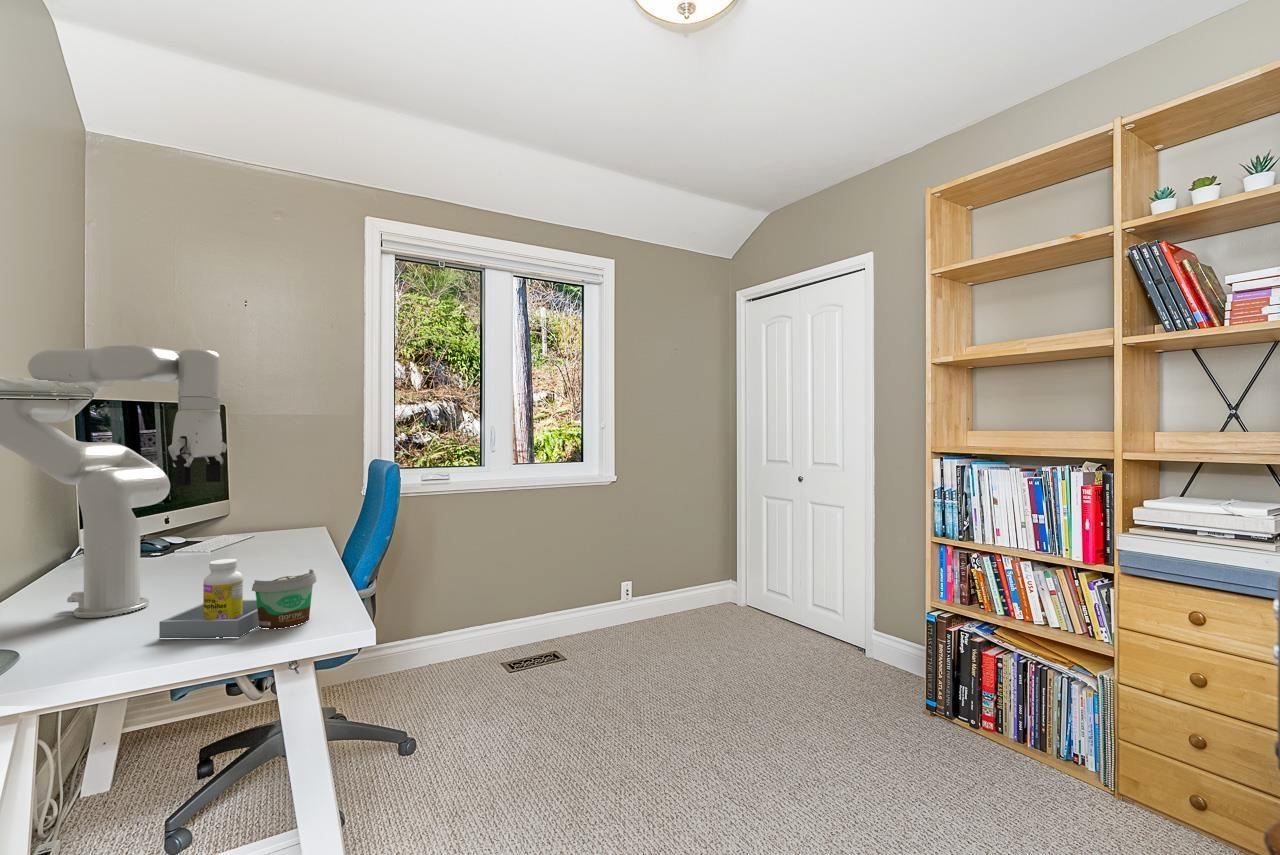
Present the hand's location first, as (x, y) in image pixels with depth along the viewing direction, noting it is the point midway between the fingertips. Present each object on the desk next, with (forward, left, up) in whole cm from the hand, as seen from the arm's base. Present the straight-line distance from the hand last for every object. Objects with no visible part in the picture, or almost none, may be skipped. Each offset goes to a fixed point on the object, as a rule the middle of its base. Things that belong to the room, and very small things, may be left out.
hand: (199, 483), depth 134 cm
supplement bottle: (+12, -11, -28) cm, 32 cm away
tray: (+12, -11, -28) cm, 33 cm away
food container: (+25, -10, -28) cm, 39 cm away
